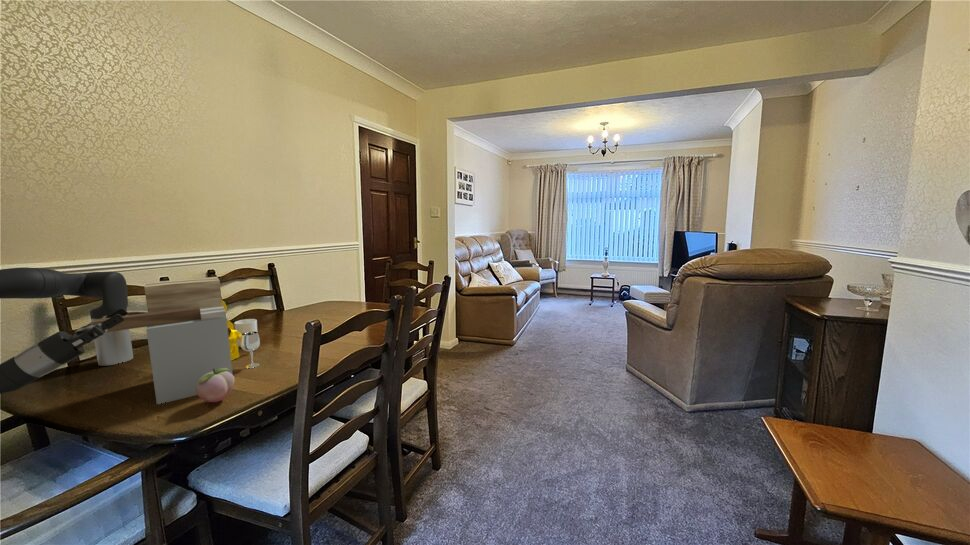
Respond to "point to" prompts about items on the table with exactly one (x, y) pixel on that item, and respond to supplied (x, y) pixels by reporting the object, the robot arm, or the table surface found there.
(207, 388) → the decorative fruit
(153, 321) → the brown block
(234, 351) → the figure statuette
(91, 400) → the table surface
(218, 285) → the oak stand
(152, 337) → the grey block
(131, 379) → the table surface
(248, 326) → the white cup
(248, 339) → the wineglass
